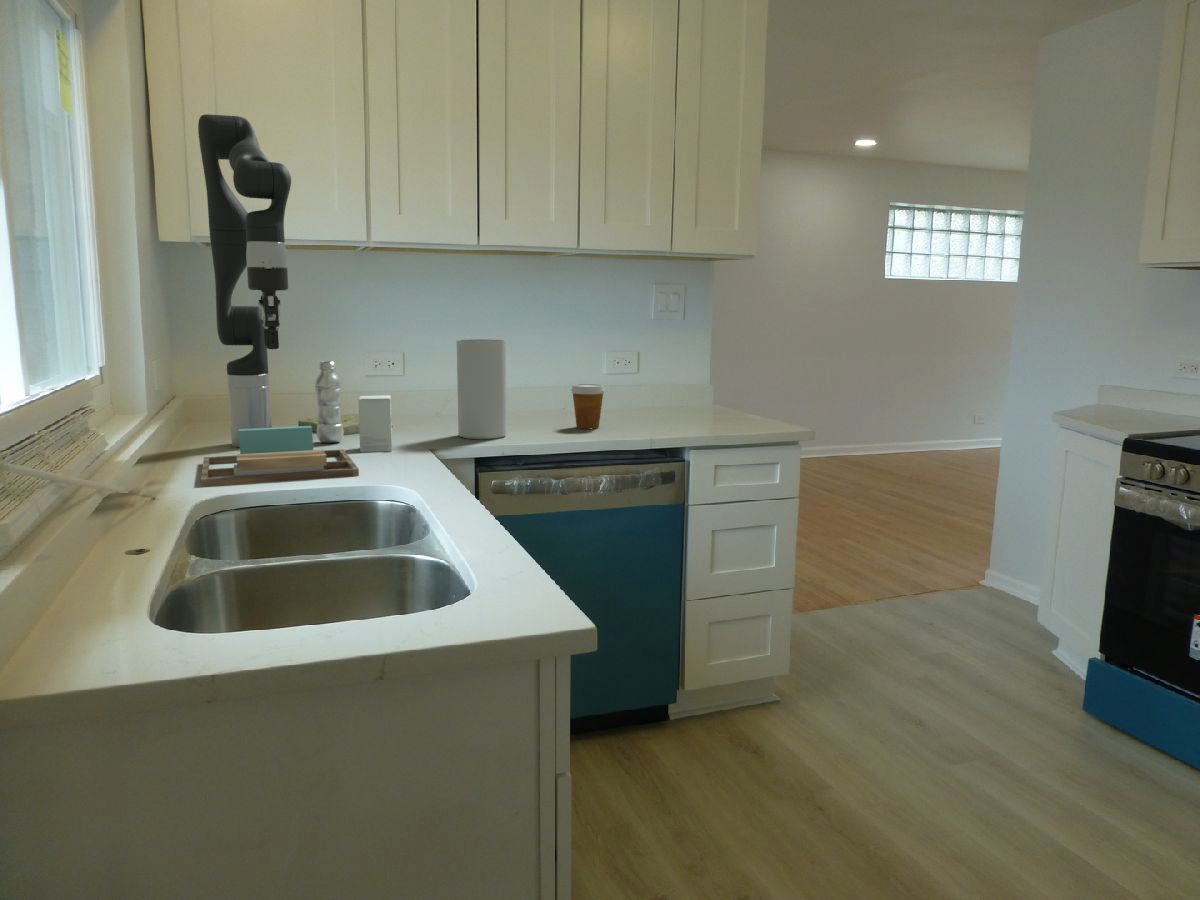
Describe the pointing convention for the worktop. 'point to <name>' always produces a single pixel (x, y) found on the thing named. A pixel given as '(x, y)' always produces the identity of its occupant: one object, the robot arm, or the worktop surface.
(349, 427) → the decorative tile
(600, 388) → the disposable coffee cup
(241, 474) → the grey flat panel
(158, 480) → the worktop surface
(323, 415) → the plastic bottle
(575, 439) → the worktop surface
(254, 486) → the worktop surface
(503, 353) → the cylinder vase
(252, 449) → the teal block
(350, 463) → the tray
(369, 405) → the supplement box
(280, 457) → the oak offcut top
